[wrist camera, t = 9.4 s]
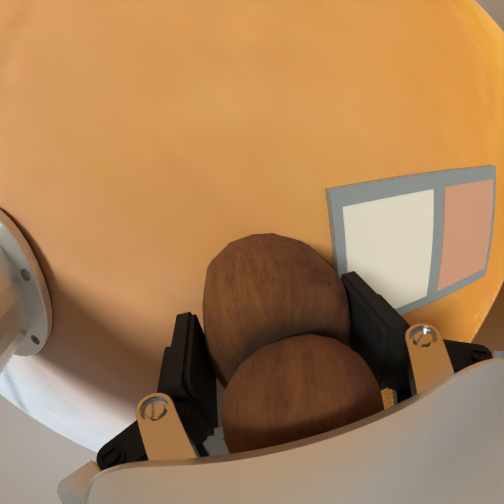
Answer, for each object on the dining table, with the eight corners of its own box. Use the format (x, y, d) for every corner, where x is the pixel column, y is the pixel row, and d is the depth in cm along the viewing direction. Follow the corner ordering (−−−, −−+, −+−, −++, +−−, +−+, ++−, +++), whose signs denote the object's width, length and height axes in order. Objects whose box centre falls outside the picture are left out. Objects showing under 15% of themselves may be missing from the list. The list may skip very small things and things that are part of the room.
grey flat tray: (337, 333, 18) (340, 339, 17) (325, 188, 14) (330, 191, 13) (481, 272, 18) (485, 275, 18) (490, 165, 14) (496, 166, 14)
